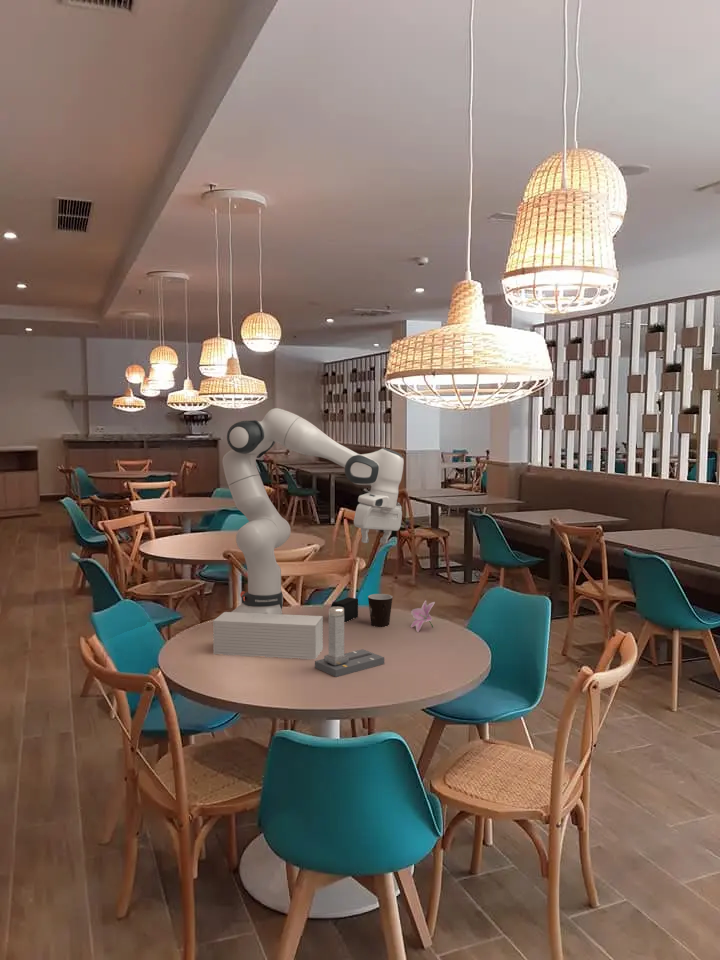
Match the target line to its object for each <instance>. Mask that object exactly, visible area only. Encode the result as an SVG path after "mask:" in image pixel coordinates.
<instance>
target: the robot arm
mask: <svg viewBox="0 0 720 960" xmlns="http://www.w3.org/2000/svg"><path fill="white" fill-rule="evenodd" d="M226 441H227V444H228V446H229V447H230V450H229V451H227V452H226V453H225V454H224V455H223V457H222V469H223V473H224V475H225V476H224V477H225V480H226V483H227V486H228V488H229V491H230V494H231V497H232V501H233V502H234V504H235V507H236V509H237V510H238V511H240V512H241V513H242V514H243V515H244V517H245V518H246V519H247V520H248V522H247V523H245V524H243V525H242V526H241V527H240V528H239V529H238V530H237V532H236V536H235V542H236V545H237V547H238V549H239V550H240V551H241V552H242V554H243V557H244V560H245V564H246V565H245V566H246V568H247V569H246V570H247V571H246V572H247V591H244V590H243V591H241V592H240V594H239V595H240V598H241V604H240V605H238V606H237V607H236V608H235V609H233V610H232V611H231V612H239V613H262V614H283V605H284V604H283V603H284V595H283V591H282V569H281V566H280V565H279V564H278V562H277V559H276V555H275V549H277V548H279V547H281V546H283V545H284V544H285V543H286V542H287V541H288V540H289V539H290V537H291V532H292V531H291V530H292V529H291V526H290V523H289V521H287V520H286V519H285V518H284V517H282V515H281V514H280V513H279V512H278V509H276V507H275V505H274V504H273V503H272V501H271V499H270V496H268V493H267V490H266V488H265V486H264V483H263V480H262V477H261V475H260V473H259V469H258V467H257V461H256V460H257V459H259V458H261V457H262V456H263V455H265V454H266V453H267V452H268V451H269V450H271V449H272V448H273V447H274V445H275V444H276V443H278V444H279V445H281V446H283V447H285V448H287V449H288V450H290V451H292V452H295V453H298V454H301V455H305V456H310V457H317V458H323V459H326V460H328V461H331V462H333V463H335V464H336V465H339V466H340V467H342V468H344V475H345V477H346V479H347V480H348V481H350V482H352V484H354V485H360V486H361V485H362V486H368V487H371V488H370V490H369V491H368V492H366V493H364V494H360V495H359V496H358V498H357V502H358V504H357V506H356V509H355V513H354V518H353V525H354V527H355V528H359V529H360V533H361V534H360V535H361V541H360V542H361V543H362V544H369V541H370V537H369V536H368V533H369V531H370V530H379V531H383V535H382V537H380V540H379V543H380V544H382V545H383V544H384V545H387V543H388V539H389V538H390V536H391V535H392V532H393V531H395V532H396V531H397V532H398V531H399V530H400V529H401V525H402V520H403V519H402V518H403V511H402V508H403V507H402V505H401V503H400V502H398V499H399V498H398V497H399V486H400V484H401V482H402V478H403V473H404V472H403V471H404V465H405V464H404V462H405V460H404V457H403V456H402V454H400V453H399V452H397V451H395V450H392V449H390V448H385V447H382V448H381V449H379V450H375V451H372V452H369V453H362V454H360V453H358V452H356V451H354V450H352V449H350V448H349V447H346V446H344V445H342V444H340V443H339V442H337V441H335V440H333V438H331V437H330V436H328V435H327V434H326V433H325V432H323V431H322V430H321V429H319V428H318V427H317V426H316V425H314V424H313V423H312V422H310V421H309V420H307V419H305V418H304V417H301V416H300V415H298V414H296V413H294V412H291V411H288V410H286V409H282V408H277V407H275V408H271V409H270V410H269V411H267V412H266V414H265V415H264V416H263V418H262V420H261V421H259V420H254V419H252V420H251V419H250V420H240V421H237V422H234V424H233V425H231V426H230V427H229V429H228V430H227V434H226Z"/></svg>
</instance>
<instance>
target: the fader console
mask: <svg viewBox="0 0 720 960" xmlns="http://www.w3.org/2000/svg"><path fill="white" fill-rule="evenodd" d="M344 655H346V656H348V657H349V662H347V663H343V664H339V665H335V666H334V665H332V664H330V663H327V662H325V661H324V658H322V659H316V660H314V668H315V669H316V668H317V670H319V671H321V670H322V671H321V672H323V671H324V672H323V673H325V672H326V673H325V674H328V675H330V676H332V675H333V677H335V678H337V677H341V676H346V675H349V674H352V673H356V672H359V671H363V670H367V669H370V668H374V667H378V665H379V666H381V664H382V665H385V656H382V655H379V654H377V653H375V652H372V651H369V650H366V649H363V648H362V649H359V650H353V651H351V652H350V651H349V652H346V653H345V652H344Z"/></svg>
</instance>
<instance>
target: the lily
mask: <svg viewBox="0 0 720 960" xmlns="http://www.w3.org/2000/svg"><path fill="white" fill-rule="evenodd" d="M435 603H436V601H432V602H430V603H428V604H427V599H426V600H424V602H423V603H422V606H421V607H416V608H413V609H412V610H411V611H410V613H411V616H412V617H413V619H414V620H413V621H412V623H411V625H410V627H411V628H413V627H415V630H416V633H417V632H418V633H419V632H420V630H421V629H422V626H423V624H424V623H426V622H429V623H430V626H431V627H432V628H434V625H433V624H432V621H433V618H432V615H431V614H430V611H431V610H432V608H433V606H434V605H435Z"/></svg>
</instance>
